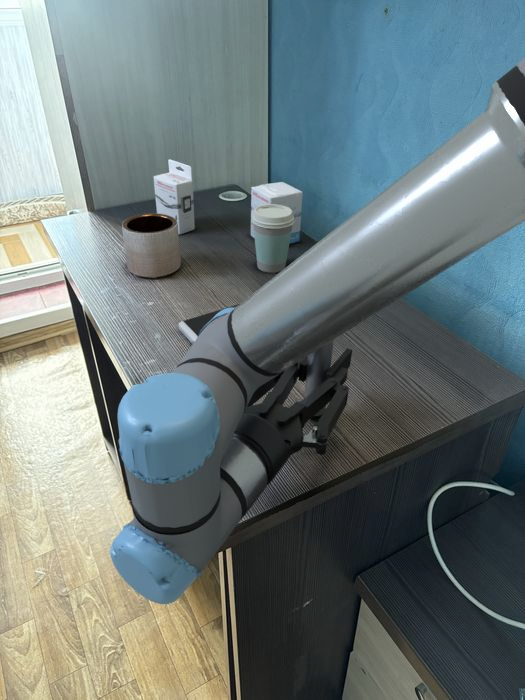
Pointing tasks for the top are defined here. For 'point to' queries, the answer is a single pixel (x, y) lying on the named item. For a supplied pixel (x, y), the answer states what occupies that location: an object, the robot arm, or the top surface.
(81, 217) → the top surface
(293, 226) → the ink box
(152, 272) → the planter
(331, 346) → the grey metal rod
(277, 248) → the coffee cup
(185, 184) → the ink box
